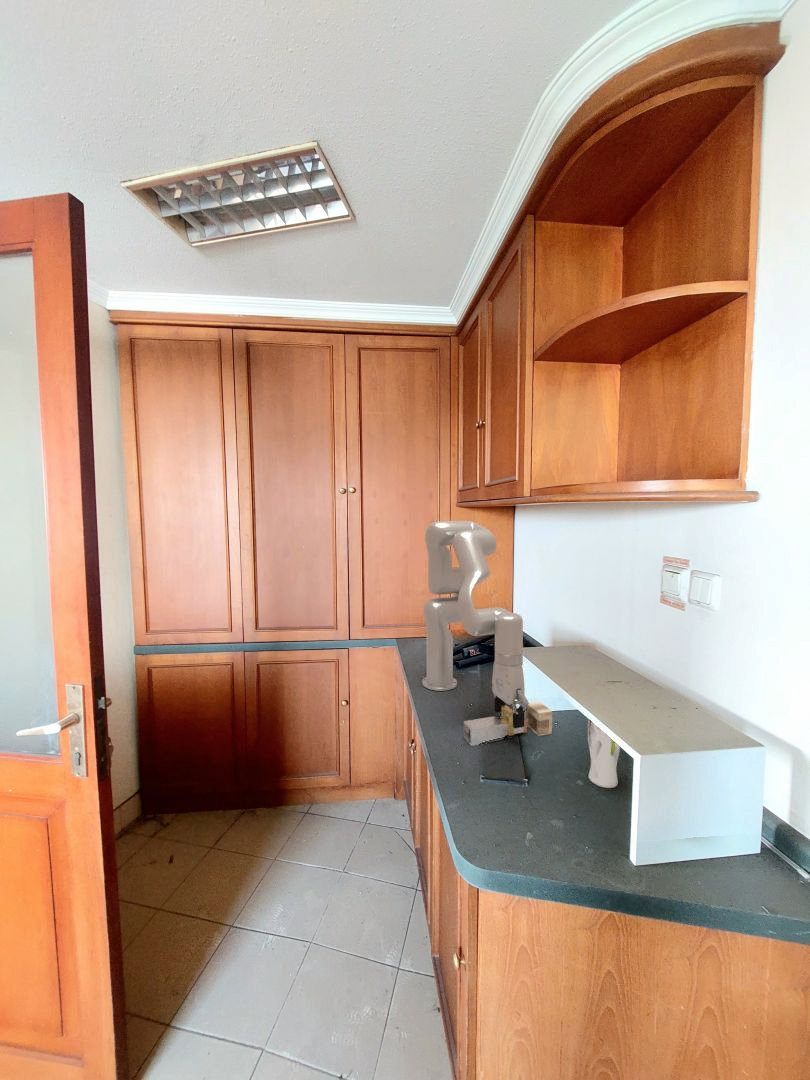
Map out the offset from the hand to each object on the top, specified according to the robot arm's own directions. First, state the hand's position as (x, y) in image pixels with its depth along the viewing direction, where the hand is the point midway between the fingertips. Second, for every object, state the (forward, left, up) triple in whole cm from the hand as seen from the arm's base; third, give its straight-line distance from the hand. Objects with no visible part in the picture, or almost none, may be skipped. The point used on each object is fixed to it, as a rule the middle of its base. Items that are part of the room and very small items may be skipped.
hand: (508, 718), depth 115 cm
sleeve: (-1, -7, -5) cm, 9 cm away
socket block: (-1, +10, -5) cm, 11 cm away
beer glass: (+23, +11, -5) cm, 26 cm away
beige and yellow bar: (-1, -3, -5) cm, 6 cm away
